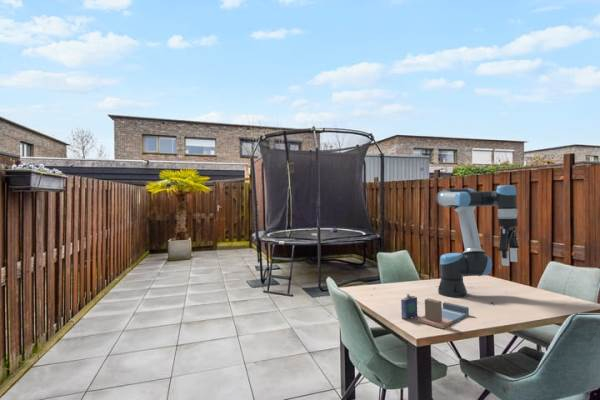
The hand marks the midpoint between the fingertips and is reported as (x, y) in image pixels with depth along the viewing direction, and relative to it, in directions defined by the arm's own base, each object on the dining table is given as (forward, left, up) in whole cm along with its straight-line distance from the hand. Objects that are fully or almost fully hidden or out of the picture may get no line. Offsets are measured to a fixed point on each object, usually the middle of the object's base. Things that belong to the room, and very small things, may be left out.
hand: (509, 263), depth 141 cm
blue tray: (-19, -23, -24) cm, 38 cm away
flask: (-30, -37, -24) cm, 53 cm away
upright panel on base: (-19, -35, -24) cm, 46 cm away
